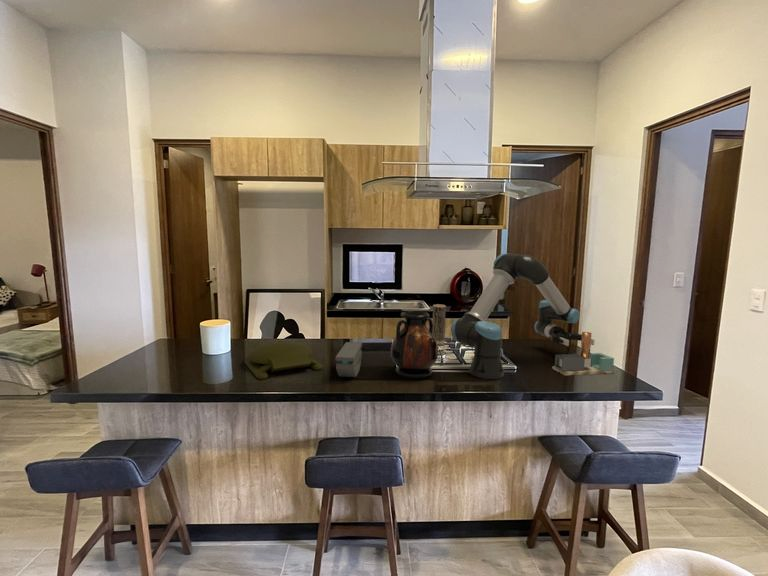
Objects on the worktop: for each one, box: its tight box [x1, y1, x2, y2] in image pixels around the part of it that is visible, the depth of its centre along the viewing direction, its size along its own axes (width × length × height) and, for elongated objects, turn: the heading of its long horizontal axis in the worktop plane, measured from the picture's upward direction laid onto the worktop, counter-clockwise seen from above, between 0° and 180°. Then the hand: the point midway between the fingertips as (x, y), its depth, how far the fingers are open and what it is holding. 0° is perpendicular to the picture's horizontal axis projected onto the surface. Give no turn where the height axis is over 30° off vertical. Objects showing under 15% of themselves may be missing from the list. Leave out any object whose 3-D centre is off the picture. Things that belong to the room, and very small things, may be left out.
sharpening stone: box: [335, 341, 363, 378], centre depth 187 cm, size 25×8×11 cm, turn 175°
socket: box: [590, 352, 615, 371], centre depth 195 cm, size 6×9×6 cm, turn 10°
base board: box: [552, 365, 614, 376], centre depth 194 cm, size 25×10×1 cm, turn 100°
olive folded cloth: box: [244, 341, 324, 380], centre depth 197 cm, size 35×31×10 cm
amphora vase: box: [390, 310, 439, 379], centre depth 186 cm, size 22×22×28 cm
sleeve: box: [554, 353, 585, 372], centre depth 192 cm, size 11×6×6 cm, turn 100°
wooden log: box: [432, 303, 447, 347], centre depth 226 cm, size 7×7×25 cm
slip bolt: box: [558, 331, 592, 367], centre depth 192 cm, size 15×4×16 cm, turn 100°
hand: (581, 342), depth 197 cm, fingers open, 13 cm apart
